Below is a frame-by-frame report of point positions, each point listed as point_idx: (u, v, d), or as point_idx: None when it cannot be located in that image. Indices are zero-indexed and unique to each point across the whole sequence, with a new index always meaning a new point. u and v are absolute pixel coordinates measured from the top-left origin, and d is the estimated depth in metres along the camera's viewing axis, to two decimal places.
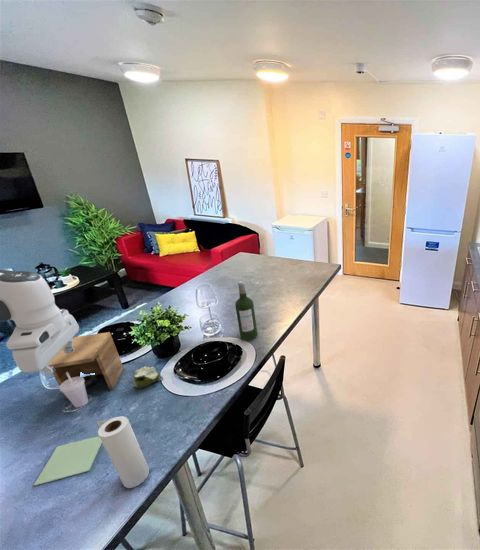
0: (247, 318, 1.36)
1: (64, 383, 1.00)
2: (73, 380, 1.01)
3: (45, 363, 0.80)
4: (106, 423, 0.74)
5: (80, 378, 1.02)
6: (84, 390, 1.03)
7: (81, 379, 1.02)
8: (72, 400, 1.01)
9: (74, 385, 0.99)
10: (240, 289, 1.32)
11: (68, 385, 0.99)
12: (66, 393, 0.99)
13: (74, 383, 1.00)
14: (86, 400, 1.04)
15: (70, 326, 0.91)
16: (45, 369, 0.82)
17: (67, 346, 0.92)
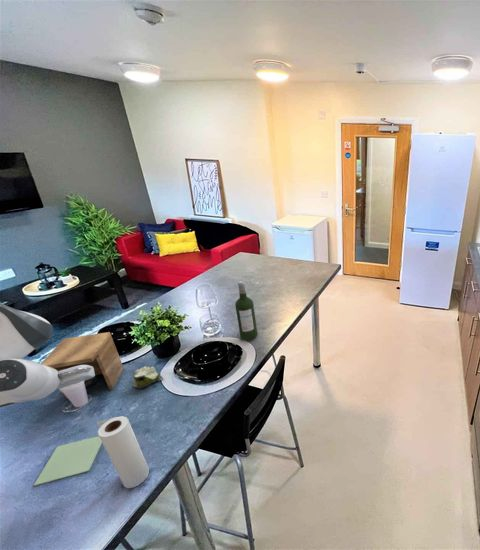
0: (247, 318, 1.36)
1: None
2: None
3: None
4: (106, 423, 0.74)
5: None
6: (84, 390, 1.03)
7: None
8: (72, 400, 1.01)
9: (74, 385, 0.99)
10: (240, 289, 1.32)
11: None
12: (66, 393, 0.99)
13: None
14: (86, 400, 1.04)
15: (76, 380, 0.85)
16: None
17: None
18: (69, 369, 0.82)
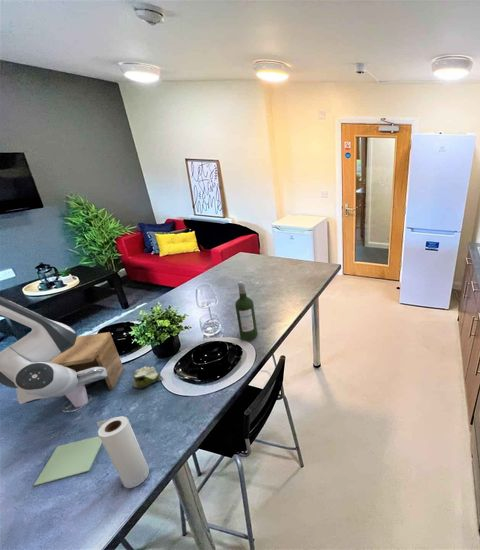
0: (247, 318, 1.36)
1: None
2: None
3: None
4: (106, 423, 0.74)
5: None
6: (84, 390, 1.03)
7: None
8: (72, 400, 1.01)
9: None
10: (240, 289, 1.32)
11: None
12: None
13: None
14: (86, 400, 1.04)
15: (91, 380, 0.98)
16: None
17: None
18: (86, 370, 0.96)
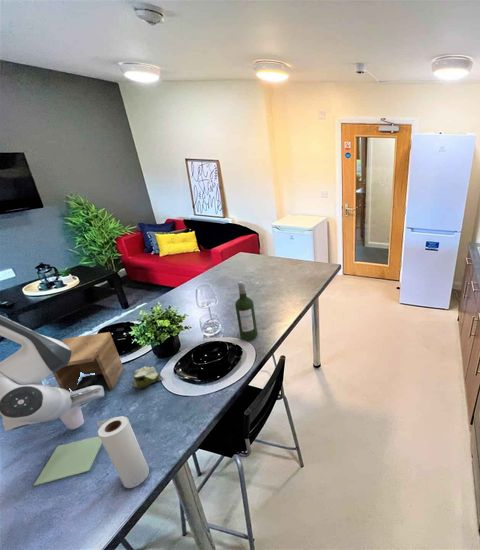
0: (247, 318, 1.36)
1: None
2: None
3: None
4: (106, 423, 0.74)
5: None
6: (79, 410, 0.93)
7: None
8: (66, 422, 0.91)
9: None
10: (240, 289, 1.32)
11: None
12: None
13: None
14: (81, 421, 0.95)
15: (87, 400, 0.89)
16: None
17: None
18: (81, 390, 0.86)
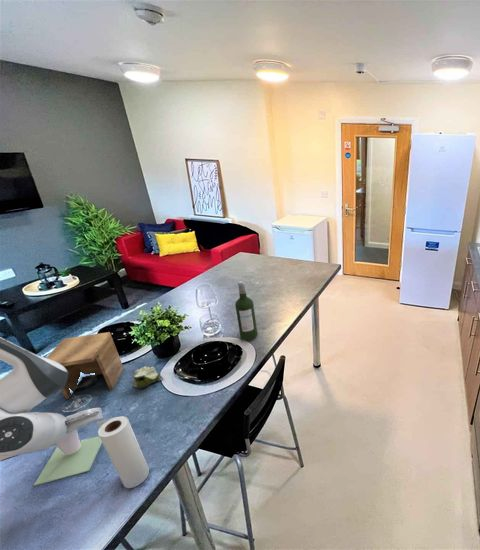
0: (247, 318, 1.36)
1: None
2: None
3: None
4: (106, 423, 0.74)
5: None
6: (75, 434, 0.86)
7: None
8: (61, 448, 0.84)
9: None
10: (240, 289, 1.32)
11: None
12: None
13: None
14: (78, 446, 0.87)
15: (84, 425, 0.81)
16: None
17: None
18: (77, 414, 0.79)
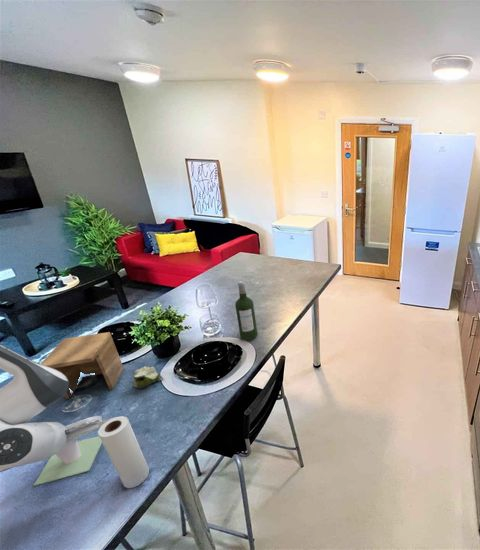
0: (247, 318, 1.36)
1: None
2: None
3: None
4: (106, 423, 0.74)
5: None
6: (75, 443, 0.85)
7: None
8: (61, 457, 0.83)
9: None
10: (240, 289, 1.32)
11: None
12: None
13: None
14: (78, 454, 0.86)
15: (84, 433, 0.80)
16: None
17: None
18: (77, 423, 0.78)
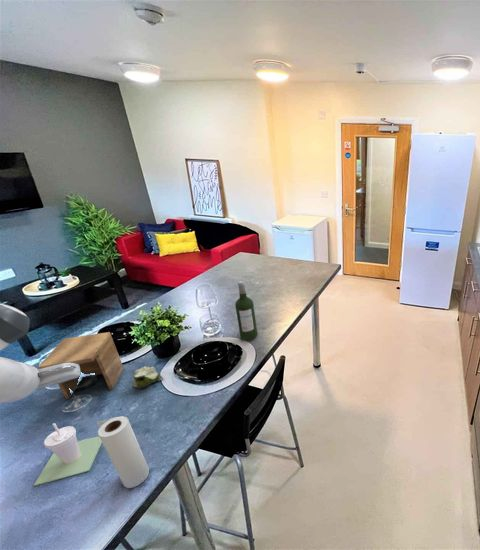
0: (247, 318, 1.36)
1: (51, 436, 0.82)
2: (62, 432, 0.83)
3: None
4: (106, 423, 0.74)
5: (71, 429, 0.84)
6: (75, 443, 0.85)
7: (72, 430, 0.84)
8: (61, 457, 0.83)
9: (63, 439, 0.81)
10: (240, 289, 1.32)
11: (55, 439, 0.81)
12: (53, 449, 0.81)
13: (63, 436, 0.82)
14: (78, 454, 0.86)
15: (59, 380, 0.76)
16: None
17: None
18: (51, 367, 0.74)
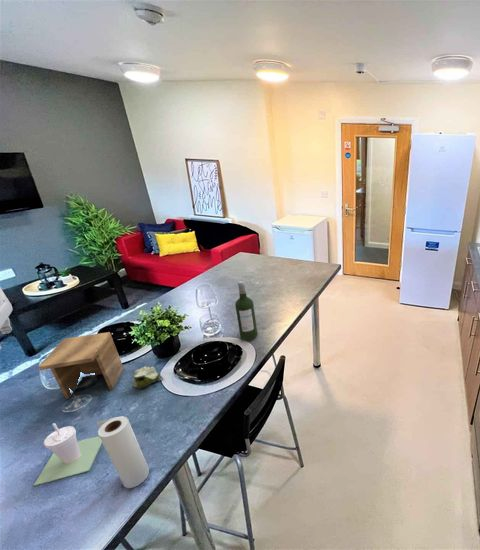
0: (247, 318, 1.36)
1: (50, 436, 0.82)
2: (62, 432, 0.83)
3: None
4: (106, 423, 0.74)
5: (70, 429, 0.84)
6: (75, 443, 0.85)
7: (71, 430, 0.84)
8: (61, 457, 0.83)
9: (63, 439, 0.81)
10: (240, 289, 1.32)
11: (55, 439, 0.81)
12: (53, 449, 0.81)
13: (63, 436, 0.82)
14: (78, 454, 0.86)
15: (4, 303, 0.83)
16: None
17: (3, 326, 0.83)
18: None
